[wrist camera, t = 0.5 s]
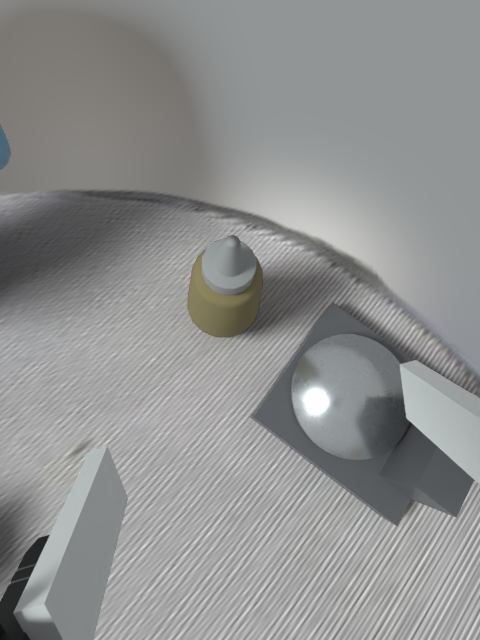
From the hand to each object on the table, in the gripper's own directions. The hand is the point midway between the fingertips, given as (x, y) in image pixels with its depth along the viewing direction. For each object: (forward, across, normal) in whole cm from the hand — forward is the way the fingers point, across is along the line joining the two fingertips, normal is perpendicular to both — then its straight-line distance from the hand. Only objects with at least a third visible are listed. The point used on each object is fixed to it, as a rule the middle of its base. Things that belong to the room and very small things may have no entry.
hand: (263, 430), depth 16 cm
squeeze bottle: (+29, 0, -2) cm, 29 cm away
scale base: (+23, +12, -15) cm, 30 cm away
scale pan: (+20, +11, -12) cm, 26 cm away
